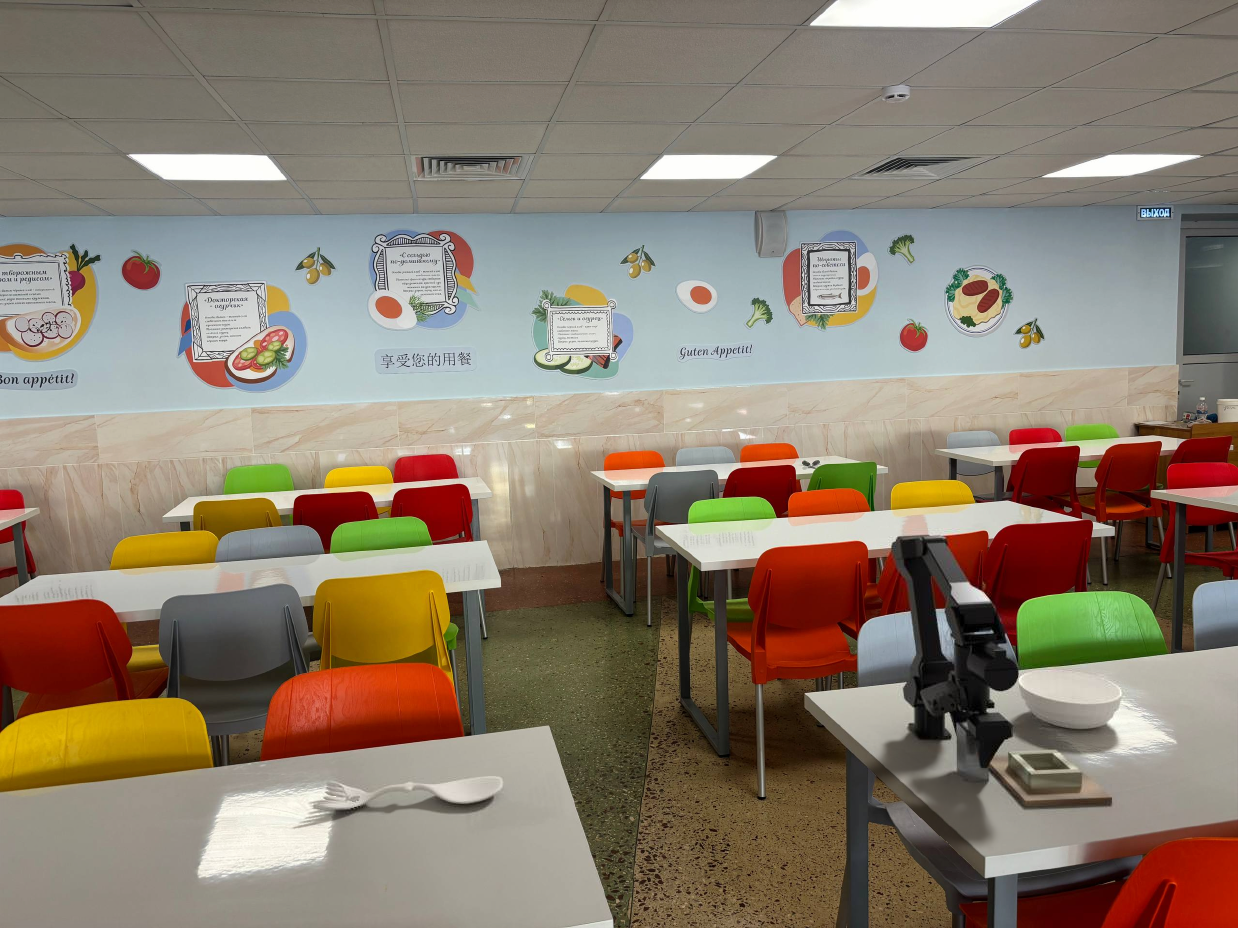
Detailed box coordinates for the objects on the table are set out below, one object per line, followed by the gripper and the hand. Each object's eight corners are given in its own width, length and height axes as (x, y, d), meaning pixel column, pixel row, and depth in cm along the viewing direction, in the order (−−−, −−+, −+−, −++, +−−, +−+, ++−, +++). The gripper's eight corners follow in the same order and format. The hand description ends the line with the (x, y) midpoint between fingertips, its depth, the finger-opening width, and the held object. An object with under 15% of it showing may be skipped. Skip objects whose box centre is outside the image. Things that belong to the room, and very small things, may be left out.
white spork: (328, 796, 149) (327, 778, 149) (505, 783, 151) (504, 765, 150) (313, 822, 140) (311, 803, 140) (501, 808, 142) (500, 789, 141)
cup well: (983, 761, 150) (983, 742, 149) (1060, 757, 149) (1060, 739, 149) (1025, 806, 134) (1025, 785, 133) (1112, 802, 133) (1112, 782, 133)
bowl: (1122, 711, 168) (1123, 677, 167) (1120, 747, 153) (1121, 710, 152) (1023, 697, 178) (1024, 664, 177) (1012, 729, 162) (1012, 693, 162)
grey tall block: (956, 770, 147) (956, 722, 146) (979, 769, 147) (979, 721, 146) (965, 781, 143) (965, 731, 142) (989, 780, 143) (988, 730, 142)
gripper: (907, 653, 152) (908, 734, 154) (946, 691, 134) (947, 783, 135) (967, 651, 152) (967, 732, 154) (1014, 688, 134) (1014, 780, 135)
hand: (972, 755), depth 144 cm, fingers open, 9 cm apart
